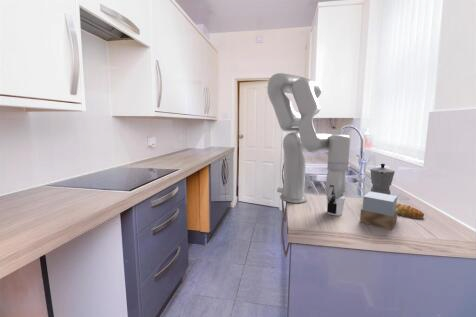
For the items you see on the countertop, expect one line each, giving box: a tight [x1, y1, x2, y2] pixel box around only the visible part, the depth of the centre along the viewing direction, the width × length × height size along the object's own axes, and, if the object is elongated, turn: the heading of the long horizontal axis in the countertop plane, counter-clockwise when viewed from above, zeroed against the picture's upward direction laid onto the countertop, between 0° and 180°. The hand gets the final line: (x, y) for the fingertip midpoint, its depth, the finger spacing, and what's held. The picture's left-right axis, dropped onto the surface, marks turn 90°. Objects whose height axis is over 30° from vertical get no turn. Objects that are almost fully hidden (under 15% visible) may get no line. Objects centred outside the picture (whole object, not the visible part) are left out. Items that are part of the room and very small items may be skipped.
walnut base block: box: [359, 207, 398, 231], centre depth 87 cm, size 10×10×5 cm
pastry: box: [396, 203, 425, 220], centre depth 94 cm, size 9×7×4 cm
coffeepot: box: [370, 163, 396, 195], centre depth 109 cm, size 15×9×18 cm, turn 148°
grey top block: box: [361, 190, 398, 216], centre depth 86 cm, size 9×9×5 cm
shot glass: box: [326, 194, 346, 216], centre depth 95 cm, size 7×7×7 cm
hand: (334, 210), depth 95 cm, fingers closed on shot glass, 6 cm apart
